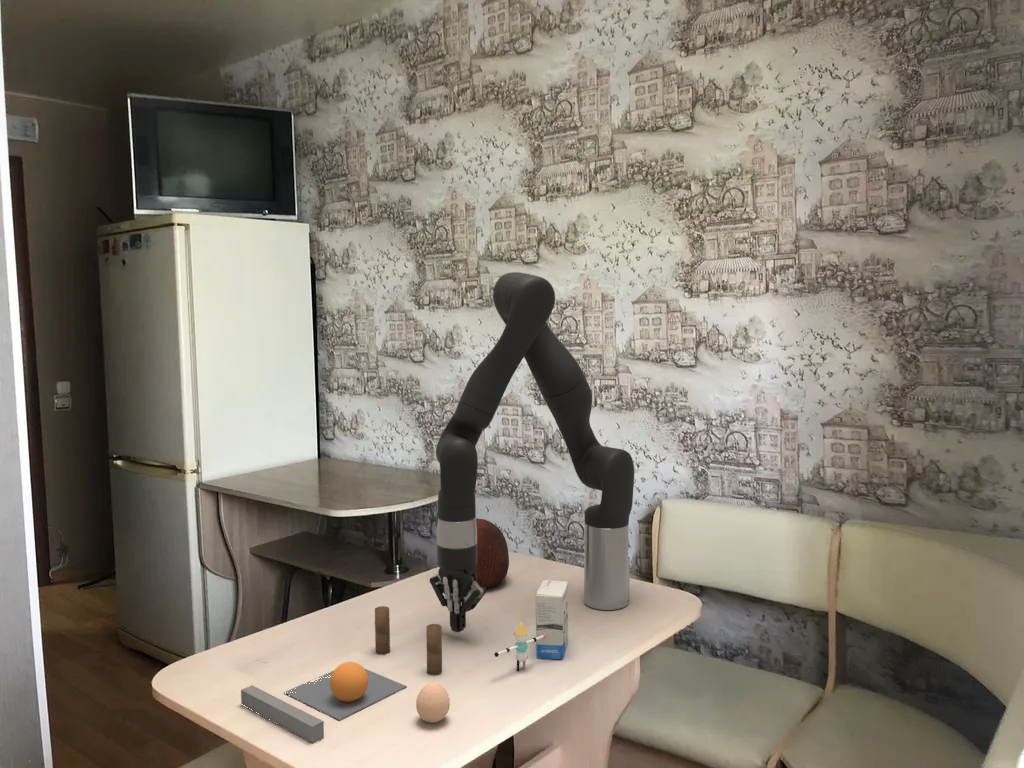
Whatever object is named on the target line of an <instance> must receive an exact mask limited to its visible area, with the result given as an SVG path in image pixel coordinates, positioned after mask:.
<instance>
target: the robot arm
mask: <svg viewBox="0 0 1024 768" xmlns="http://www.w3.org/2000/svg"><path fill="white" fill-rule="evenodd" d="M492 293H493V294H492V295H493V296H492V298H493V304H494V306H495V309H496V312H497V313H498V315H499V317H500V319H501V320H502V322H503V323H504V324H505V327H504V329H503V331H502V333H501V335H500V337H499V339H498V340H497V342H496V344H495V345H494V346H493V348H492V349H490V352H489V353H488V354H487V355H486V356H485V357H484V358H483V360H482V361H481V362H480V363H479V365H477V366H476V368H475V369H474V370H473V372H472V374H471V376H470V377H469V378H468V380H467V382H466V385H465V387H464V389H463V390H462V394H461V396H460V399H459V401H458V403H457V405H456V408H455V411H454V413H453V415H452V416H451V417H450V419H449V421H448V423H447V424H446V426H445V428H444V429H443V432H442V433H441V435H440V437H439V440H438V441H437V444H436V449H435V457H436V459H437V462H438V464H439V473H440V489H439V490H438V496H437V524H436V564H437V567H438V568H439V569H438V574H436V575H434V576H432V577H430V578H429V583H430V585H431V587H432V588H433V590H434V593H435V595H436V598H437V599H438V601H439V603H440V605H441V606H442V607H443V608H445V607H446V608H447V610H448V612H449V626H450V630H451V631H453V632H454V633H460V632H462V631H464V630H465V628H466V627H467V613H468V612H470V611H472V610H474V609H475V608H476V607H477V606H478V604H479V603H480V601H481V600H482V599H483V598H484V595H486V593H487V587H480V586H479V585H478V583H477V582H476V581H477V577H476V574H475V567H476V565H477V525H476V510H477V509H476V487H477V486H476V485H477V479H478V466H479V463H478V462H479V461H478V459H479V458H478V452H477V448H476V445H477V443H478V442H479V439H480V437H481V435H482V433H483V432H484V430H486V429H487V428H489V426H490V424H491V423H492V421H493V419H494V416H496V413H497V410H498V408H499V405H500V403H501V401H502V399H503V397H504V394H505V392H506V390H507V388H508V385H509V384H510V382H511V380H512V378H513V376H514V374H515V373H516V371H517V369H518V368H519V365H520V364H521V363H522V361H523V359H524V360H525V361H526V364H527V366H528V368H529V371H530V372H531V374H532V377H533V378H534V380H535V383H536V384H537V387H538V389H539V392H540V394H541V395H542V398H543V400H544V402H545V403H546V406H547V409H549V411H550V413H551V415H552V417H553V419H554V421H555V423H556V425H557V428H558V430H559V432H560V433H561V436H562V438H563V441H564V443H565V446H566V448H567V451H568V454H569V456H570V460H571V463H572V465H573V467H574V471H575V473H576V475H577V477H578V479H579V481H580V482H581V483H582V484H583V485H584V486H586V487H587V488H589V489H591V490H597V491H600V492H601V499H600V503H599V504H595V505H590V506H588V507H587V508H586V509H585V510H584V525H583V526H584V530H583V531H584V533H583V535H584V540H583V541H584V547H583V548H584V550H583V551H584V552H583V553H584V557H583V559H584V561H583V567H584V568H583V569H584V570H583V572H584V573H583V576H584V577H583V579H584V580H583V603H584V604H585V605H586V606H588V607H589V608H592V609H596V610H603V611H615V610H619V609H623V608H625V607H627V605H629V604H628V601H629V600H630V573H631V572H630V570H631V569H630V567H631V566H630V564H631V563H630V561H631V559H630V556H629V539H630V538H629V533H630V532H629V527H630V526H629V523H630V522H629V521H630V515H631V512H632V508H633V504H634V503H633V501H634V500H633V499H634V498H633V497H634V484H635V466H634V460H633V458H632V455H631V454H630V453H629V452H628V451H626V450H625V449H622V448H616V447H611V446H610V447H609V446H605V445H602V444H600V442H599V441H598V439H597V437H596V435H595V433H594V431H593V429H592V427H591V422H590V420H591V412H592V409H593V393H592V389H591V386H590V384H589V382H588V380H587V378H586V376H585V373H584V371H583V369H582V367H581V366H580V364H579V362H578V361H577V360H576V358H575V357H574V356H573V355H572V353H571V352H570V351H569V350H568V348H567V347H566V346H565V345H564V344H563V343H562V342H561V340H560V339H559V338H558V337H557V336H556V335H555V333H554V332H553V330H552V329H551V327H550V326H549V324H548V322H547V321H548V320H549V318H550V316H551V314H552V312H553V310H554V307H555V303H556V293H555V289H554V287H553V285H552V284H551V282H549V281H548V279H546V278H544V277H541V276H538V275H534V274H531V273H525V272H519V271H517V272H516V271H513V272H508V273H504V274H503V275H501V276H500V277H499V278H498V279H497V281H496V283H495V284H494V288H493V292H492Z"/></svg>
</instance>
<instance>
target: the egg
mask: <svg viewBox="0 0 1024 768" xmlns="http://www.w3.org/2000/svg"><path fill="white" fill-rule="evenodd" d="M447 691H448V690H446V688H445V687H444V686H443V685H442V684H440V682H439V683H438V682H428V683H426V684H425V685H423V686H422V688H421V689H420V691H419V692H418V694H417V697H416V700H415V707H416V712H417V714H418V716H419V717H420V718H421V719H422V720H423V721H425V722H427V723H430V724H431V723H432V724H433V723H438V722H440V721H442V720H443V719H444V718H445V717H446V716H447V715H448V712H449V711H450V710H449V709H450V705H451V700H450V696H449V693H448V692H447Z"/></svg>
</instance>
